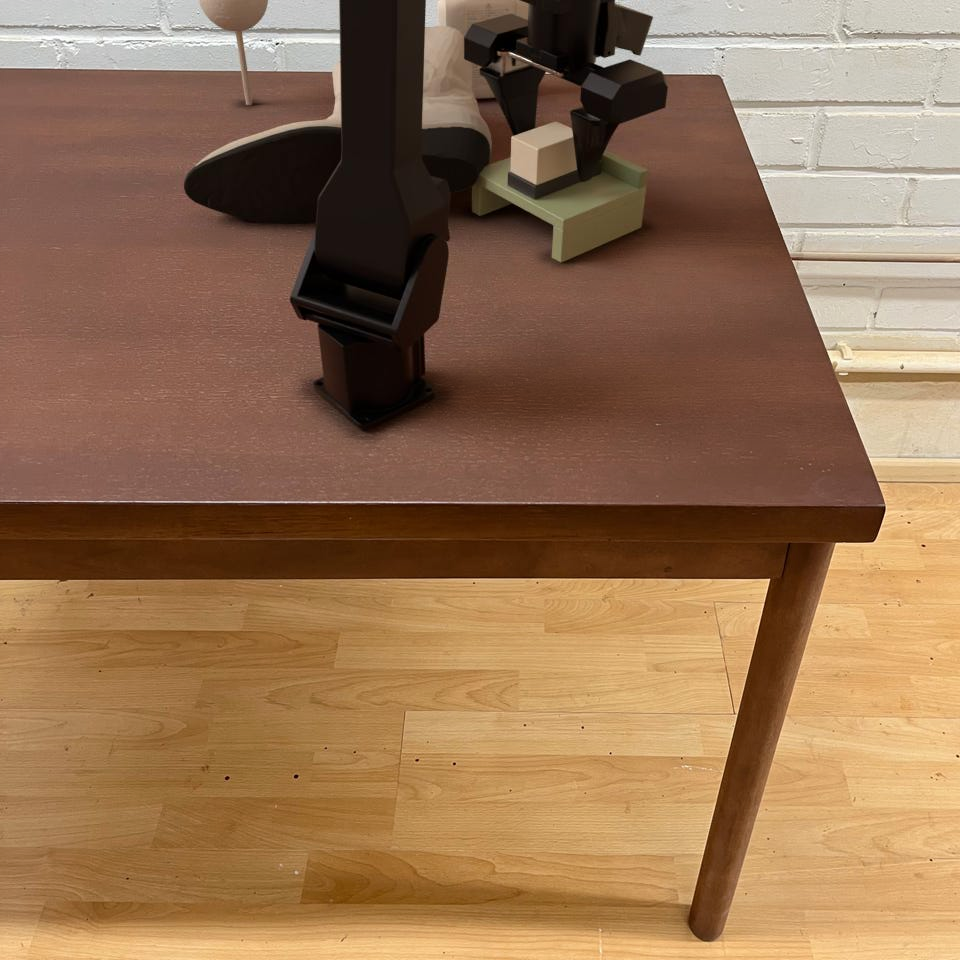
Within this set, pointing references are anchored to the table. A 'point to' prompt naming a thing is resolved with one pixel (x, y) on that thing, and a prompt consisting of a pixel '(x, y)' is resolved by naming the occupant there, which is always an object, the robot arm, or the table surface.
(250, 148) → the cowboy boot
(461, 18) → the white printed package
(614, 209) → the shoe shelf
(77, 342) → the table surface
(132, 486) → the table surface
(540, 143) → the block
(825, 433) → the table surface
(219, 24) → the lollipop
